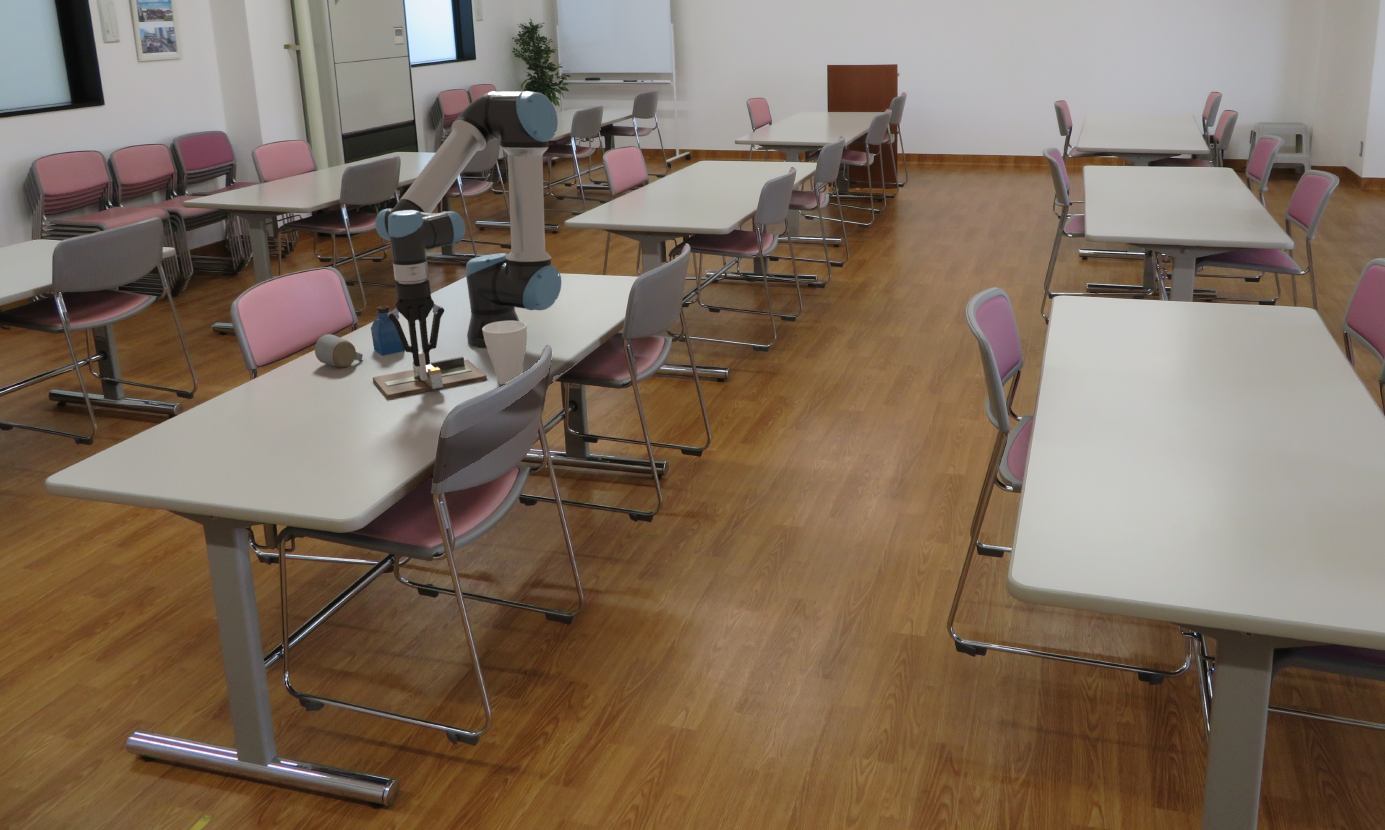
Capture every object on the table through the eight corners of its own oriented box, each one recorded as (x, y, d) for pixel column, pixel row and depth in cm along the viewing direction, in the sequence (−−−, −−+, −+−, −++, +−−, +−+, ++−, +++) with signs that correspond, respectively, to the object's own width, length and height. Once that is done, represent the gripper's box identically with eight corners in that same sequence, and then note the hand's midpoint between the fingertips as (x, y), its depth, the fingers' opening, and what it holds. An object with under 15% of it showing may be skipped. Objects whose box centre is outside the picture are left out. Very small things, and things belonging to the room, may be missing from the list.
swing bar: (412, 375, 258) (410, 358, 256) (428, 371, 260) (426, 355, 258) (429, 389, 247) (427, 372, 246) (446, 386, 249) (443, 368, 248)
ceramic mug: (336, 372, 267) (331, 342, 265) (316, 366, 272) (311, 337, 269) (370, 361, 275) (366, 332, 272) (351, 356, 280) (347, 328, 277)
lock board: (468, 363, 270) (465, 341, 268) (486, 379, 257) (484, 356, 255) (373, 381, 259) (369, 358, 257) (387, 398, 247) (384, 375, 245)
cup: (504, 371, 263) (499, 318, 258) (540, 376, 258) (535, 322, 253) (479, 384, 254) (473, 330, 249) (515, 390, 250) (510, 335, 245)
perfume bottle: (404, 351, 282) (398, 307, 277) (382, 355, 279) (375, 311, 274) (396, 345, 287) (390, 302, 282) (374, 350, 283) (367, 306, 279)
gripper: (385, 287, 236) (398, 387, 244) (443, 280, 240) (454, 379, 249) (380, 280, 242) (393, 378, 250) (437, 273, 247) (447, 370, 255)
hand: (423, 378), depth 249 cm, fingers closed
